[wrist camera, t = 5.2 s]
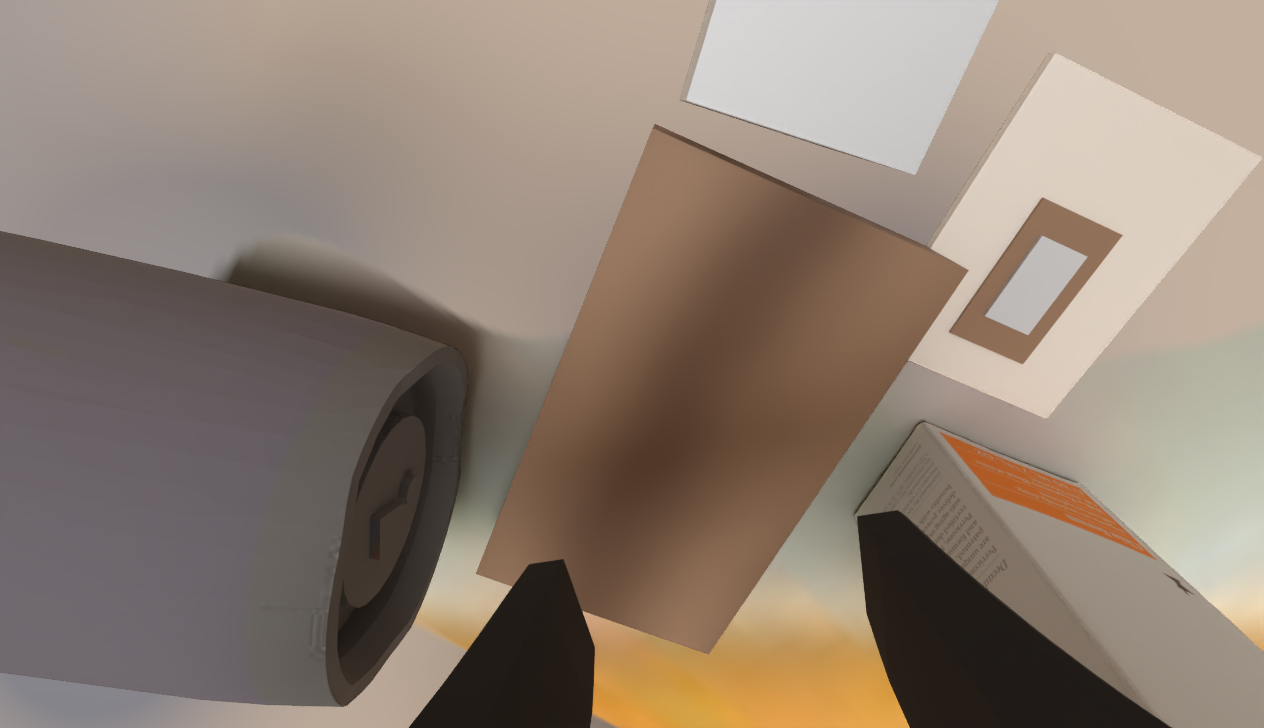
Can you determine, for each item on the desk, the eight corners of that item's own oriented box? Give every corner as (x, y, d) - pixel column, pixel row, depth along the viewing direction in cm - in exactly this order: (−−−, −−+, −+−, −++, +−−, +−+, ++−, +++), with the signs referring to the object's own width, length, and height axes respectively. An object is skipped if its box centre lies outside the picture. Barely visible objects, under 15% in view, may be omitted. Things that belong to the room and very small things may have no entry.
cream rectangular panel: (1251, 156, 15) (1270, 158, 14) (1040, 413, 18) (1050, 422, 17) (1047, 53, 14) (1060, 52, 14) (866, 339, 17) (871, 346, 17)
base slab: (925, 246, 16) (968, 270, 14) (704, 595, 22) (708, 654, 19) (655, 124, 15) (652, 128, 13) (497, 521, 21) (475, 573, 18)
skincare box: (1084, 479, 19) (1670, 1011, 8) (1001, 573, 20) (1386, 1119, 9) (917, 411, 18) (1300, 889, 7) (845, 514, 20) (1065, 1026, 9)
